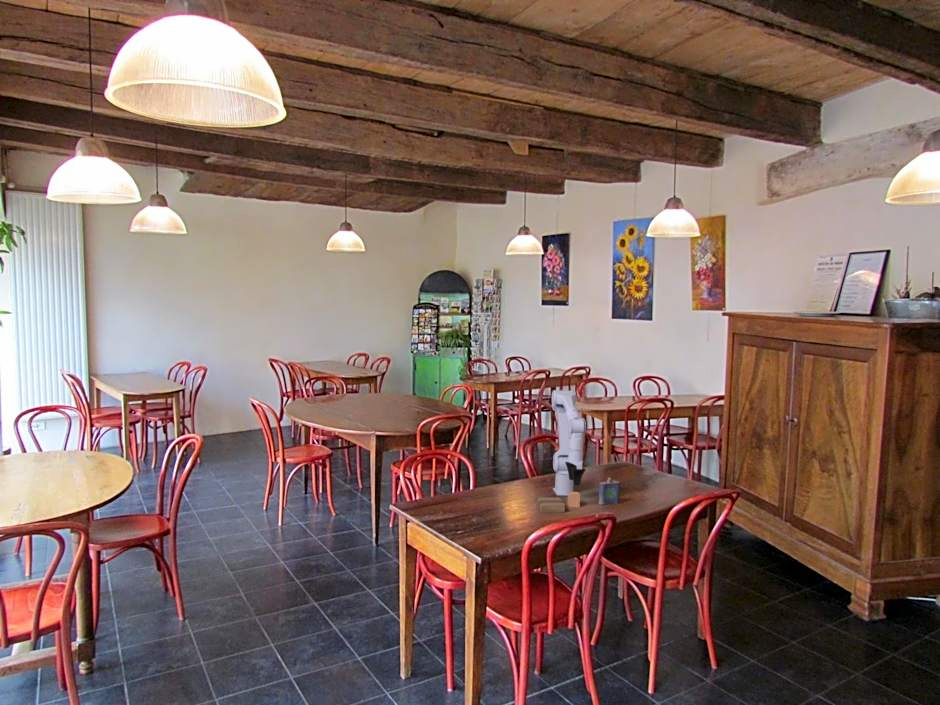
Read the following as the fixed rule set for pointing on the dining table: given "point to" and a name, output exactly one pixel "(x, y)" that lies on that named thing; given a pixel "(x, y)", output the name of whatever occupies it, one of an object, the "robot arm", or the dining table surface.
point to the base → (551, 505)
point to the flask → (609, 492)
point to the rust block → (573, 499)
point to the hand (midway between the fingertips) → (574, 482)
